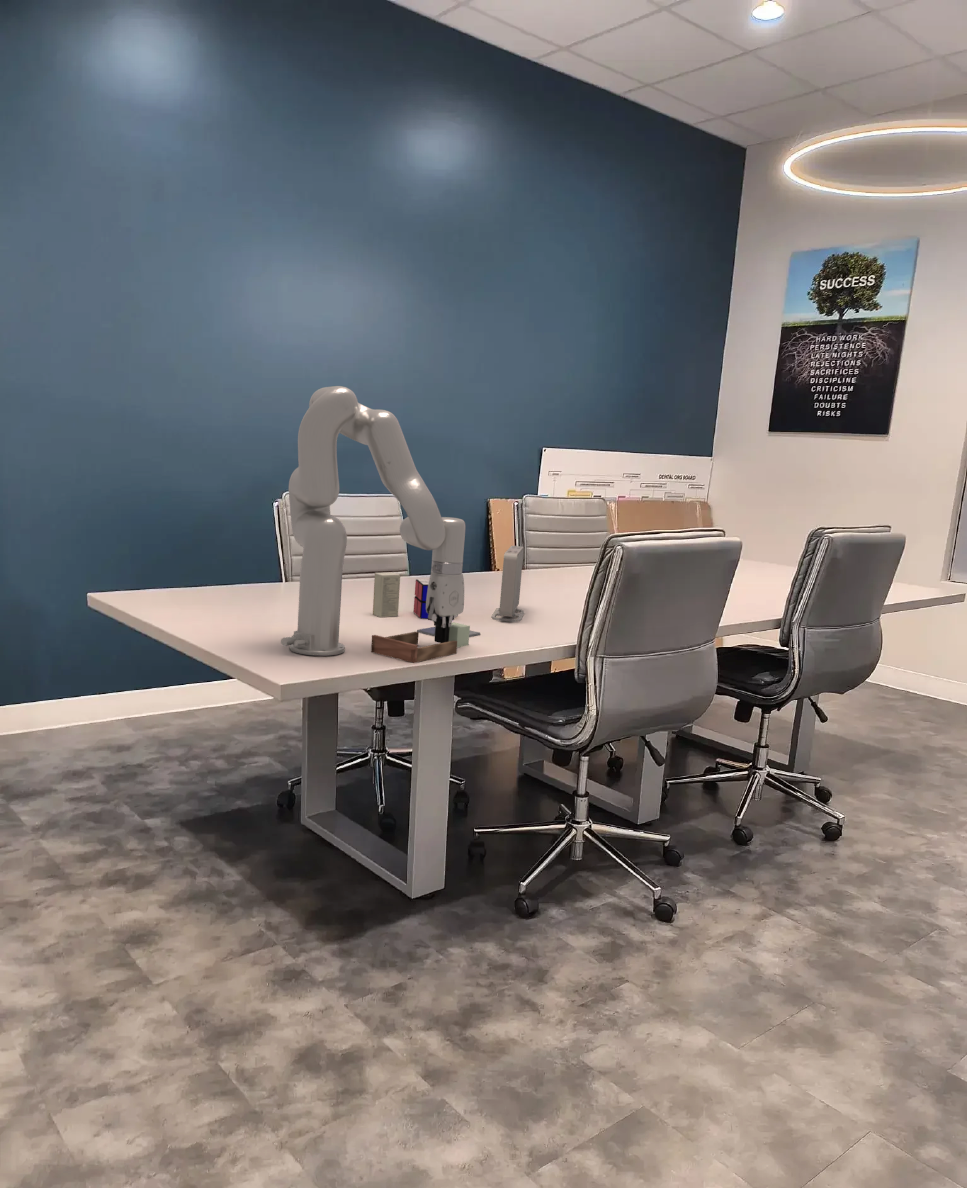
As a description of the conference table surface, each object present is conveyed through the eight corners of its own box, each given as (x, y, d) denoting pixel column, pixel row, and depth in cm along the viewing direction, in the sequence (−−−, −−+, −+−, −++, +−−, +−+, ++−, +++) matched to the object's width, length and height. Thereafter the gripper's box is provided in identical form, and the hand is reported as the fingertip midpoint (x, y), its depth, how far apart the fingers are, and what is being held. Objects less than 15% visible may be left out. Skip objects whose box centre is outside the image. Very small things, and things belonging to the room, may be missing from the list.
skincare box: (391, 613, 265) (393, 572, 263) (398, 616, 262) (401, 574, 260) (371, 614, 262) (374, 572, 260) (379, 617, 258) (381, 574, 256)
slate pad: (452, 640, 235) (453, 638, 235) (416, 632, 242) (416, 629, 242) (480, 634, 245) (480, 632, 245) (444, 627, 252) (444, 624, 252)
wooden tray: (413, 662, 208) (414, 645, 207) (371, 652, 215) (372, 635, 215) (456, 653, 221) (457, 637, 220) (414, 643, 228) (415, 627, 228)
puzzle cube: (420, 619, 261) (422, 584, 259) (413, 612, 270) (415, 578, 269) (454, 620, 263) (456, 585, 262) (446, 613, 273) (448, 580, 271)
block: (456, 647, 228) (457, 628, 227) (440, 644, 231) (442, 624, 230) (468, 645, 232) (469, 625, 231) (452, 641, 235) (454, 622, 234)
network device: (519, 624, 264) (525, 555, 261) (488, 621, 265) (494, 552, 262) (525, 610, 289) (531, 546, 286) (498, 607, 290) (503, 544, 287)
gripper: (440, 572, 215) (434, 649, 218) (477, 568, 228) (471, 641, 230) (415, 568, 220) (410, 643, 222) (453, 564, 232) (447, 635, 235)
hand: (441, 642), depth 226 cm, fingers closed
